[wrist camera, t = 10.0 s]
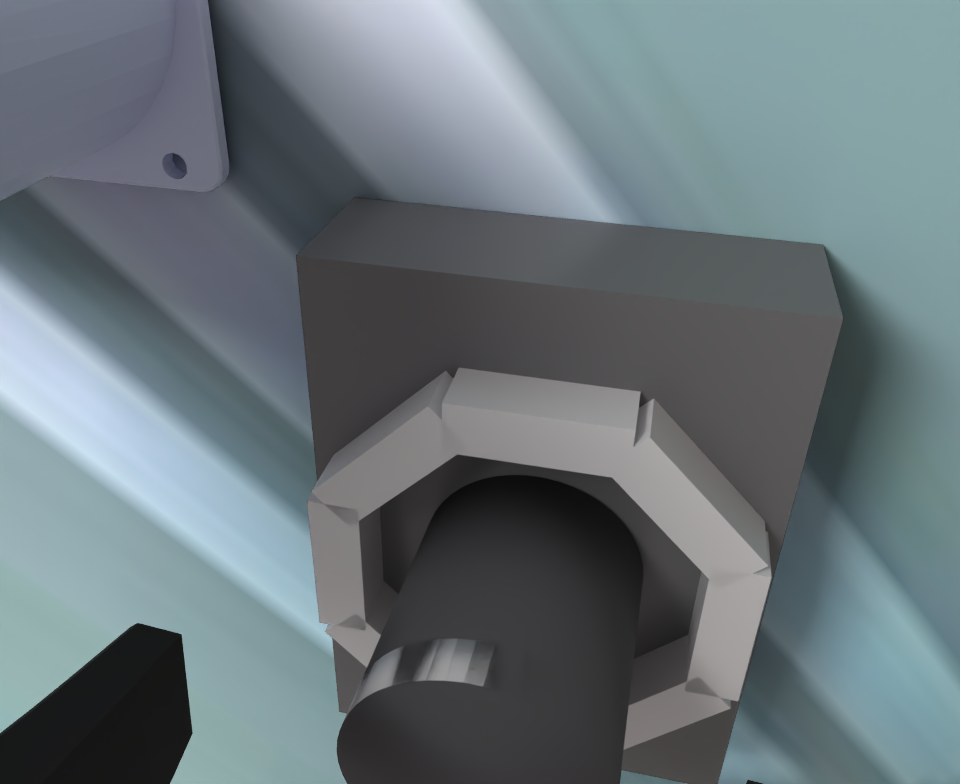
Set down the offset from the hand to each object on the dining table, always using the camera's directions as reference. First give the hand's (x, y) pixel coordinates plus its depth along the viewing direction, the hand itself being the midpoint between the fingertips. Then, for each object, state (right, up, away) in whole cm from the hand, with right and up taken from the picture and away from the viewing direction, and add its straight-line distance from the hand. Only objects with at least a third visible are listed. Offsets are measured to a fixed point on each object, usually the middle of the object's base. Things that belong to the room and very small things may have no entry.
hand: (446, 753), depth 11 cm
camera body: (+2, +3, +9) cm, 10 cm away
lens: (+1, +1, +6) cm, 7 cm away
